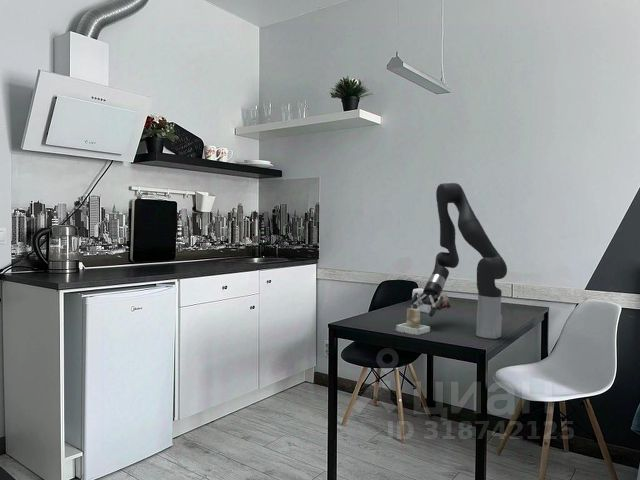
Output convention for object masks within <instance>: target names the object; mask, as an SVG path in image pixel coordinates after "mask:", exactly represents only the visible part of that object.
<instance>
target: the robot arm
mask: <svg viewBox="0 0 640 480" xmlns="http://www.w3.org/2000/svg"><path fill="white" fill-rule="evenodd" d="M435 194H436V195H435V196H436V207H437V213H438V220H439V245H440V248H444V249H446V250H447V252H445V251H440V252H439V253H437V254H436V256H435V263H434V269H433V271H432V273H431V275H430V276H429V278H428V280H427V282H426V284H425V286H424V288H423V289H424V290H423V293H422V294H421V295H420V294H418V293H415V295H414V296H413V298H412V297H411V300H410V304H411V308H414V309H417V307H418V306H421V305H423V304H425V305H432V306H433V307H431V308H430V312H429V313H428V316H429V317H430V318H432V317H434V315H435V313H436V311H438V310H439V311H441V310H442V309H443V308H442V306H443V303H444V298H443V296H441V297H439V296H440V294H441V292H442V293H443V289H444V287H445V285H446V282H447V279H448V278H449V275H450V272H449V269H448V268H450V269H455V268H457V267H458V266H459V262H460V258H459V254H458V251H457V245H456V227H455V224H454V222H453V220H452V219H451V216H450V214H449V209H448V205H449V204H454V206H455V208H456V209H457V211H458V217H457V228H458V230H459V232H460V234H461V236H462V238H463V239H464V241H465V242H466V243H467V244H469V246H470V247H472V248H473V249H474V250H475V251H476V252H478V254H480V256H481V259H480V260H479V261H478V263H477V266H476V288H477V292H478V293H477V294H478V295H477V307H476V308H477V309H476V310H477V313H476V330H475V332H476V333H475V335H476V336H477V337H479V338H484V339H494V340H497V339H499V338H501V337H502V327H503V326H502V323H503V314H501V310H502V309H501V308H502V307H501V306H502V289H500V288H499V287H497V285H496V280H501V279H504V278H505V277H506V276H507V274H508V267H507V264H506V261H505V260H504V258H503V257H502V256H501V254H500V253H499V251H498V250H497V249H496V248H495V246H494V245H493V243H492V242H491V240H490V238H489V237H488V234H487V233H486V231H485V230H484V228H483V226H482V224H481V222H480V220H479V219H478V218H477V216H476V214H475V212H474V210H473V209H472V207H471V205H470V203H469V200H468V199H467V195H466V193H465V191H464V189H463V188H462V185H460V184H459V183H457V182H456V183H455V182H449V183H448V182H447V183H440V184H439V185H437V187H436V192H435ZM420 297H421V298H420ZM421 300H422V302H420V301H421ZM438 300H439V302H438V305H437V306H436V305H435V302H437V301H438ZM412 306H413V307H412Z"/></svg>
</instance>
